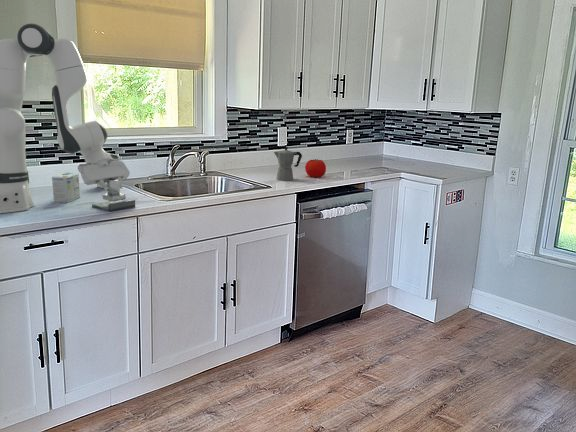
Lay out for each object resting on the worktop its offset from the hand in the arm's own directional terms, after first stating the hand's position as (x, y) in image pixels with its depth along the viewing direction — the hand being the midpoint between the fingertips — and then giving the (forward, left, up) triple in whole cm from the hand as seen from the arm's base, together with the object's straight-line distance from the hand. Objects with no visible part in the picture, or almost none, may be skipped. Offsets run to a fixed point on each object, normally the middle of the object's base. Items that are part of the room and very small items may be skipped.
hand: (114, 188), depth 216 cm
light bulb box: (-6, +25, -8) cm, 27 cm away
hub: (0, +1, -4) cm, 4 cm away
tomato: (+122, -17, -8) cm, 123 cm away
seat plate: (0, +1, -8) cm, 8 cm away
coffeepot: (+103, -11, -8) cm, 104 cm away
